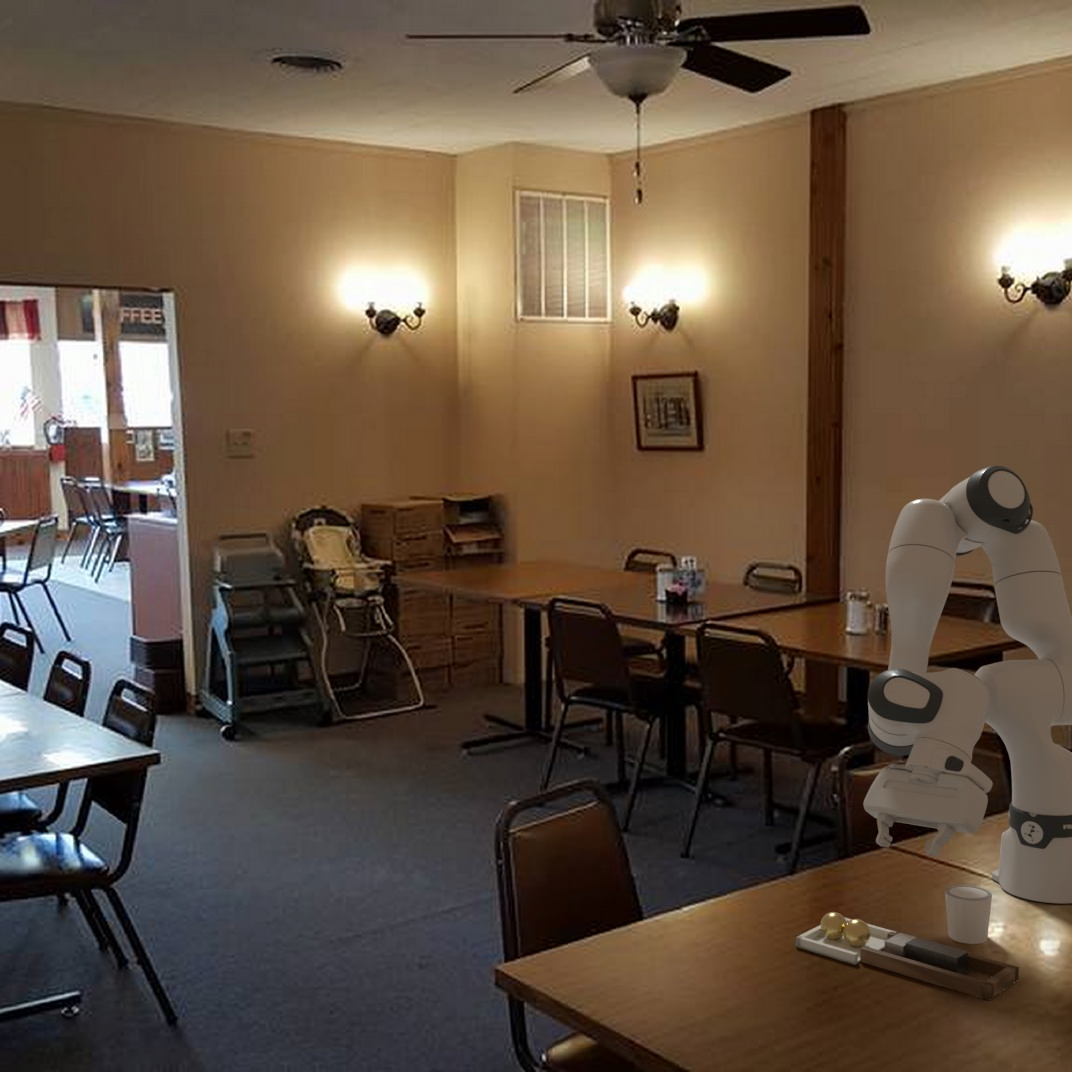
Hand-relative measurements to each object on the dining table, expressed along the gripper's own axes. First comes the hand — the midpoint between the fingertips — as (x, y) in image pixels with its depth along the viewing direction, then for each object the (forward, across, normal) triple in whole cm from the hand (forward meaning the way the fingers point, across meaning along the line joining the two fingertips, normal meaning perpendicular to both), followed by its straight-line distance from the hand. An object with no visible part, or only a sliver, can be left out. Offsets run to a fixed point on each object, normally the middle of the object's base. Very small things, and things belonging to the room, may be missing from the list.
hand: (905, 849), depth 198 cm
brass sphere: (+15, -1, +1) cm, 15 cm away
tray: (+16, -5, +1) cm, 17 cm away
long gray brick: (+14, +3, +2) cm, 15 cm away
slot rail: (+15, +9, +4) cm, 19 cm away
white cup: (+7, +4, +15) cm, 17 cm away
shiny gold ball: (+15, -5, 0) cm, 16 cm away
